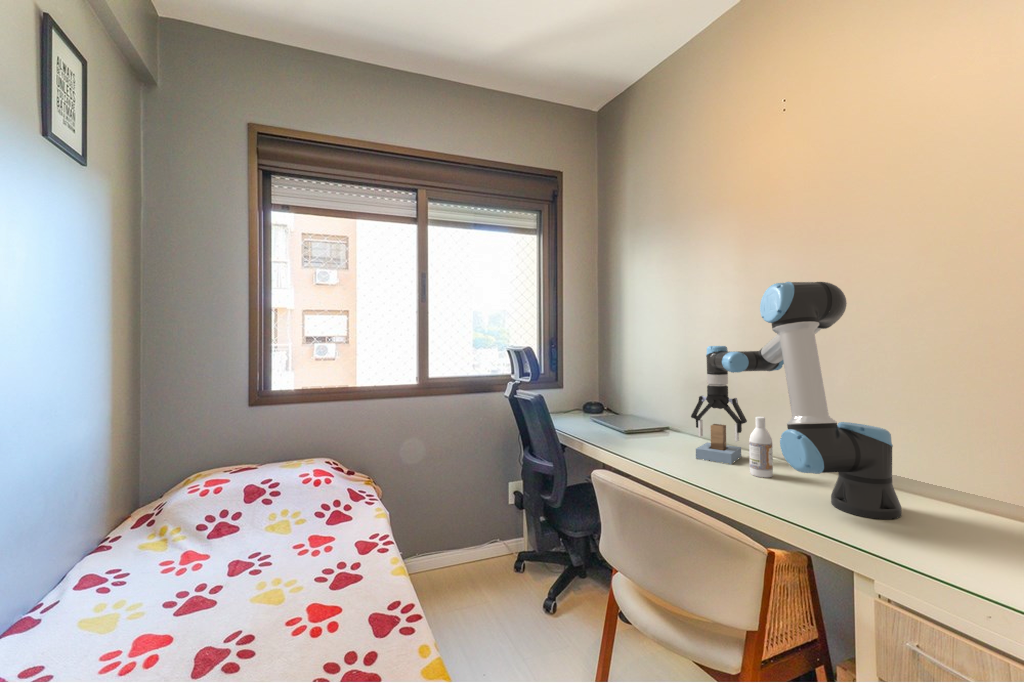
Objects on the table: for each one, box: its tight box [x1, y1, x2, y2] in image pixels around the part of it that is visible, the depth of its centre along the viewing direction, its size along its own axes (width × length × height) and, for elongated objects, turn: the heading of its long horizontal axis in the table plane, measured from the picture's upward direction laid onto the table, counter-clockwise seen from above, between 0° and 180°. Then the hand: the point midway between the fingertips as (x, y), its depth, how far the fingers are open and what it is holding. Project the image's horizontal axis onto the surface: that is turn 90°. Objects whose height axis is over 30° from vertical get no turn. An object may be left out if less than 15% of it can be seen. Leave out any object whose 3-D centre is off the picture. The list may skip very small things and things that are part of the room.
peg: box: [710, 423, 727, 451], centre depth 174 cm, size 4×4×13 cm
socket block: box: [695, 442, 742, 465], centre depth 174 cm, size 13×13×4 cm
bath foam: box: [748, 416, 774, 479], centre depth 152 cm, size 7×7×20 cm
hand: (718, 438), depth 174 cm, fingers open, 13 cm apart
